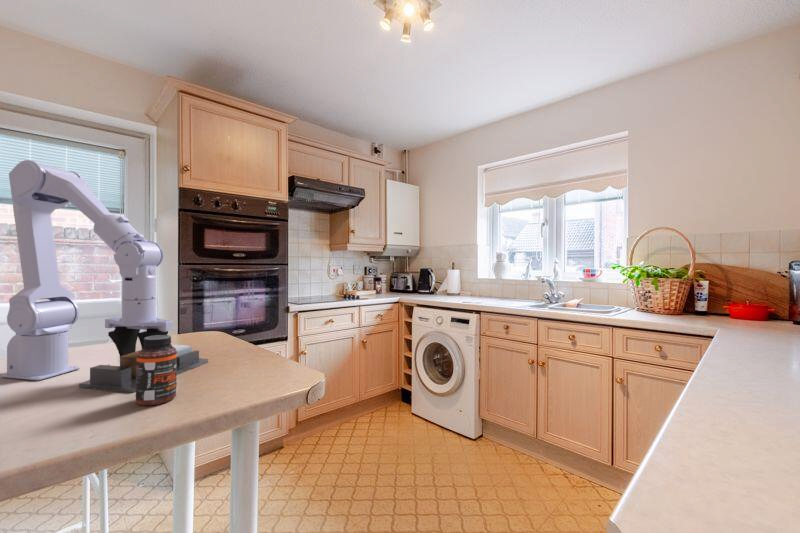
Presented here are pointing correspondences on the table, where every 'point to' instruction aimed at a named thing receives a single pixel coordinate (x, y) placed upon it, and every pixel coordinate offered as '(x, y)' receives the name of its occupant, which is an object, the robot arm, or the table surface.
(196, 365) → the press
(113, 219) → the robot arm
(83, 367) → the table surface
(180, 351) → the ram
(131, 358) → the block
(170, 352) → the supplement bottle
